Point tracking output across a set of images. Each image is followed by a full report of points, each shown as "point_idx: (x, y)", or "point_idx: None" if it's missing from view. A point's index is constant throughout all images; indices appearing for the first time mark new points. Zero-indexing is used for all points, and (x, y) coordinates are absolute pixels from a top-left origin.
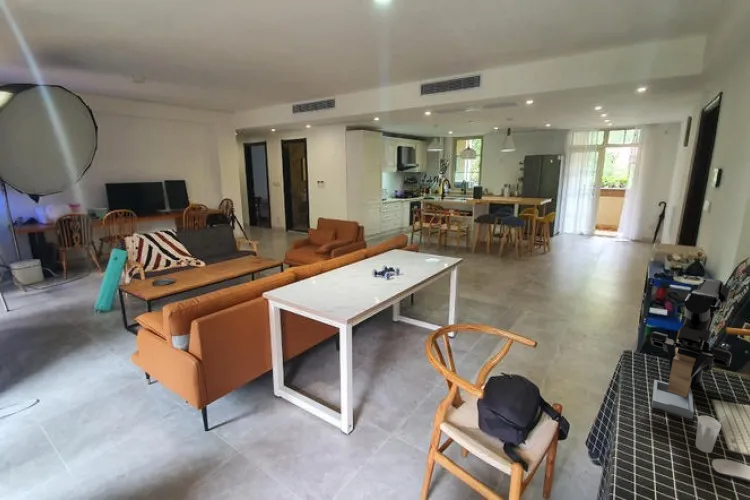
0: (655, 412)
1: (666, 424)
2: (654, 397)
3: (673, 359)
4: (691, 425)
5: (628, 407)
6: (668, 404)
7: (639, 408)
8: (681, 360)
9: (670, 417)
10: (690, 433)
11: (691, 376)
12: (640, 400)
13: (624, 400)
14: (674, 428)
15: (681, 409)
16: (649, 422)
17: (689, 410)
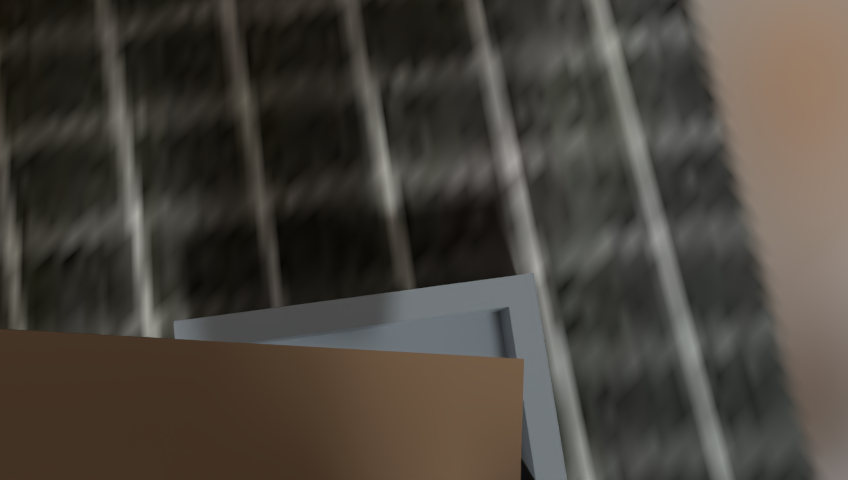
0: (475, 213)
1: (370, 82)
2: (533, 347)
3: (503, 367)
4: (199, 221)
5: (672, 123)
6: (395, 300)
7: (597, 178)
8: (237, 380)
9: (358, 224)
10: (199, 85)
11: None
12: (625, 337)
13: (734, 221)
14: (310, 67)
15: (279, 307)
16: (483, 12)
17: (211, 333)
